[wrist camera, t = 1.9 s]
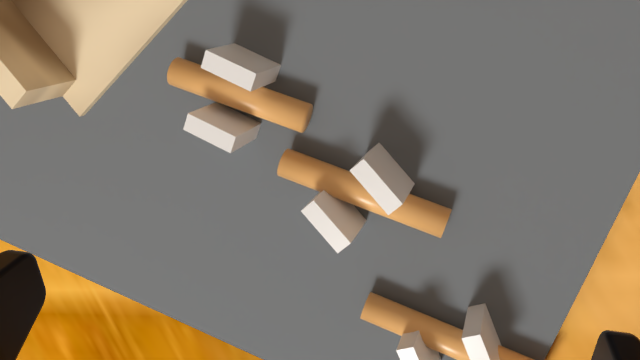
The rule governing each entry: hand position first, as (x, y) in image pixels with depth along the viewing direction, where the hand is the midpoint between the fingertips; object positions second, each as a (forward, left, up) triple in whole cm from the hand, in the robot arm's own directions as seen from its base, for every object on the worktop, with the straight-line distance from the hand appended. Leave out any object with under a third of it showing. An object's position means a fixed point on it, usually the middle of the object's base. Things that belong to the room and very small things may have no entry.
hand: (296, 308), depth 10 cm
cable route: (+1, +3, -11) cm, 12 cm away
